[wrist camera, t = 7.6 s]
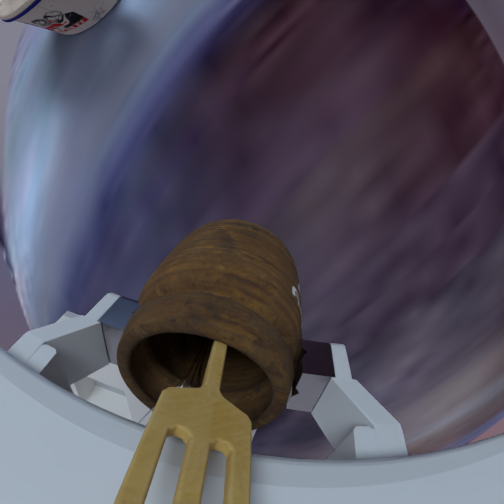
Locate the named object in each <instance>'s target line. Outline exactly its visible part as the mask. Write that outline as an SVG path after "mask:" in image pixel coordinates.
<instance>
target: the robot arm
mask: <svg viewBox="0 0 504 504" xmlns="http://www.w3.org/2000/svg"><path fill="white" fill-rule="evenodd" d="M139 307H140V305H139V303H138V301H136V300H133V299H130V298H126V297H123V296H120V295H117V294H114V293H108V294H107V295H105V296H104V297H103V298H102V299H101V300H100V301H99V302H98V303H97V304H96V305H95V306H94V307H93V308H92V309H91V311H90V312H89V313H88V314H87V315H86V316H83V315H80V316H77V317H74V318H70V319H67V320H64V321H61V322H57V323H54V324H51V325H48V326H44V327H41V328H38V329H34V330H31V331H28V332H26V333H25V334H24V335H23V336H22V337H21V338H20V339H19V340H18V341H17V342H16V343H15V344H14V345H13V346H12V347H11V348H10V349H9V350H8V351H7V352H6V351H5V350H4V349H2V348H1V347H0V504H114V501H115V499H116V496H117V494H118V491H119V489H120V487H121V484H122V482H123V479H124V477H125V475H126V472H127V470H128V467H129V465H130V463H131V460H132V458H133V456H134V453H135V451H136V449H137V446H138V444H139V442H140V440H141V437H142V435H143V433H144V430H145V428H146V426H145V425H142V424H140V423H137V422H134V421H132V420H129V419H127V418H124V417H122V416H119V415H117V414H115V413H112V412H110V411H108V410H105V409H103V408H101V407H99V406H97V405H95V404H93V403H90V402H88V401H86V400H84V399H82V398H80V397H78V396H77V395H75V394H74V392H73V390H72V388H71V386H70V385H72V384H73V383H75V382H77V381H79V380H81V379H83V378H85V377H86V376H88V375H90V374H92V373H94V372H96V371H97V370H99V369H101V368H103V367H105V366H106V365H108V364H109V363H112V364H115V365H117V366H118V364H117V348H118V344H119V341H120V338H121V336H122V333H123V331H124V328H125V326H126V324H127V322H128V320H129V319H130V317H131V316H132V315H133V313H134V312H135V311H136V310H137V309H138V308H139ZM293 365H294V378H293V383H292V388H291V392H290V395H289V399H288V402H287V407H286V409H293V410H300V411H307V412H311V414H312V415H313V417H314V419H315V420H316V422H317V423H318V425H319V427H320V428H321V430H322V431H323V433H324V434H325V436H326V438H327V439H328V441H329V442H330V444H331V445H332V447H333V448H334V450H335V451H334V452H333V453H332V454H331V455H330V456H329V457H328V458H327V459H326V460H318V459H300V458H288V457H278V456H270V455H262V454H256V453H251V492H250V504H504V433H502V434H499V435H496V436H493V437H490V438H487V439H483V440H480V441H477V442H473V443H470V444H466V445H462V446H458V447H454V448H449V449H444V450H439V451H434V452H429V453H423V454H416V455H409V456H408V454H407V449H406V445H405V441H404V436H403V432H402V428H401V424H400V423H399V422H398V421H397V420H396V419H395V418H394V417H393V416H392V415H391V414H390V413H389V412H388V411H387V410H386V409H385V408H384V407H383V406H382V405H381V404H380V403H379V402H378V401H377V400H376V399H375V398H374V397H373V396H372V395H371V394H370V393H369V392H368V391H367V390H366V389H365V388H364V387H363V386H362V385H361V384H360V383H359V382H358V381H357V380H353V379H352V377H351V372H350V367H349V362H348V357H347V353H346V348H345V346H344V345H343V344H335V343H324V342H317V341H311V340H304V339H300V340H299V344H298V348H297V352H296V359H295V361H294V362H293ZM185 448H186V444H185V443H184V441H183V440H182V439H181V438H178V437H176V436H169V437H167V438H166V441H165V443H164V446H163V449H162V452H161V455H160V458H159V461H158V464H157V467H156V470H155V473H154V476H153V479H152V482H151V485H150V488H149V491H148V494H147V497H146V500H145V503H144V504H172V502H173V498H174V494H175V490H176V485H177V481H178V477H179V473H180V469H181V465H182V461H183V456H184V452H185ZM225 471H226V457H225V456H224V455H223V453H222V452H220V451H217V450H213V449H212V450H210V452H209V458H208V464H207V470H206V476H205V482H204V488H203V494H202V500H201V504H223V497H224V484H225Z"/></svg>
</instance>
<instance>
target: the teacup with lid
mask: <svg viewBox="0 0 504 504" xmlns="http://www.w3.org/2000/svg"><path fill="white" fill-rule="evenodd" d="M117 1H118V0H0V18H1V19H2V20H3V21H5V22H12V21H18V22H22V23H26V24H30V25H34V26H37V27H41V28H45V29H48V30H51V31H55V32H58V33H61V34H64V35H73V34H77V33H80V32H82V31H85V30H86V29H88V28H90V27H92V26H93V25H94V24H96V23H97V22H98V21H100V20H101V19H102V18H103V17H104V16H105V15H106V14H107V13H108V12H109V11H110V10H111V9H112V8H113V6H114V5H115V4H116V2H117Z"/></svg>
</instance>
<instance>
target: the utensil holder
mask: <svg viewBox="0 0 504 504" xmlns="http://www.w3.org/2000/svg"><path fill="white" fill-rule="evenodd" d="M138 303H139V305H140V307H139V308H138V309H137V310H136V311H135V312H134V313H133V315H132V316H131V317H130V319H129V320H128V322H127V324H126V326H125V328H124V331H123V333H122V336H121V338H120V341H119V344H118V348H117V364H118V368H119V372H120V374H121V376H122V378H123V380H124V382H125V384H126V385H127V387H128V388H129V389H130V391H131V392H132V393H133V394H134V395H135V396H136V398H137V399H139V400H140V401H141V402H142V403H143V404H144V405H145V406H147V407H148V408H149V409H150V411H149V412H148V413H147V414H146V415H145V416H144V417H143V418H142V419H141V420H140V421H139V422H138V423H140V422H141V421H142V420H143V419H144V418H145V417H146V416H147V415H148V414H149V413H150V412H151V411H153V412H152V415H151V417H150V419H149V421H148V423H147V424H146V428H145V430H144V433H143V435H142V437H141V440H140V442H139V444H138V446H137V449H136V451H135V453H134V456H133V458H132V460H131V463H130V465H129V467H128V470H127V472H126V475H125V477H124V479H123V482H122V484H121V487H120V489H119V491H118V494H117V496H116V499H115V501H114V504H144V503H145V500H146V497H147V494H148V491H149V488H150V485H151V482H152V479H153V476H154V473H155V470H156V467H157V464H158V461H159V458H160V455H161V452H162V449H163V446H164V443H165V441H166V438H167V437H169V436H176V437H178V438H181V439H182V440H183V441H184V443H185V444H186V448H185V452H184V456H183V461H182V465H181V469H180V473H179V477H178V481H177V485H176V490H175V494H174V498H173V502H172V504H201V500H202V494H203V488H204V482H205V476H206V470H207V464H208V458H209V452H210V450H212V449H213V450H217V451H220V452H222V453H223V455H224V456H225V457H226V471H225V484H224V497H223V504H250V492H251V444H252V430H255V429H258V428H261V427H263V426H265V425H267V424H269V423H270V422H272V421H273V420H274V419H276V418H277V417H278V416H279V415H280V414H281V412H282V411H283V410H284V408H285V406H286V404H287V402H288V399H289V395H290V392H291V388H292V383H293V378H294V365H293V362H294V361H295V359H296V352H297V348H298V344H299V340H300V339H301V338H302V308H301V296H300V286H299V279H298V274H297V270H296V266H295V263H294V261H293V258H292V256H291V254H290V253H289V251H288V249H287V248H286V246H285V245H284V244H283V243H282V242H281V241H280V240H279V239H278V238H277V237H276V236H275V235H274V234H273V233H271V232H270V231H268V230H267V229H265V228H263V227H261V226H259V225H257V224H254V223H251V222H248V221H244V220H236V219H226V220H219V221H214V222H210V223H208V224H205V225H203V226H201V227H199V228H198V229H196V230H194V231H193V232H191V233H190V234H189V235H188V236H186V237H185V238H184V239H183V240H182V241H181V242H180V243H179V244H178V245H177V246H176V247H175V248H174V249H173V250H172V251H171V253H170V254H169V255H168V256H167V257H166V258H165V259H164V260H163V262H162V263H161V264H160V265H159V266H158V267H157V269H156V270H155V271H154V273H153V274H152V275H151V277H150V278H149V279H148V281H147V283H146V284H145V286H144V288H143V290H142V292H141V294H140V297H139V299H138Z"/></svg>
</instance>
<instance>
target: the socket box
mask: <svg viewBox="0 0 504 504" xmlns="http://www.w3.org/2000/svg"><path fill="white" fill-rule="evenodd" d="M77 316H80V315H78V314H75V313H72V312H70V311H67V312H66V313H65V314H64V315H63V316H62V317H61V318H60V319H59V320H58V321H57V322H61V321H64V320H67V319H70V318H74V317H77ZM57 322H56V323H57ZM70 386H71V388H72V390H73V392H74V394H75V395H77V396H78V397H80V398H82V399H84V400H86V401H88V402H90V403H93V404H95V405H97V406H99V407H101V408H103V409H105V410H108V411H110V412H112V413H115V414H117V415H119V416H122V417H124V418H127V419H129V420H132V421H134V422H137V423H138V422H139V421H140V420H141V419H142V418H143V417H144V416H145V415H146V414H147V413H148V412H149V411H150V409H149V408H148V407H147V406H145V405H144V404H143V403H142V402H141V401H140V400H139V399H137V398H136V396H135V395H134V394H133V393H132V392H131V391H130V389H129V388H128V387H127V385H126V384H125V382H124V380H123V378H122V376H121V374H120V372H119V368H118V366H117V365H115V364H112V363H109V364H108V365H106V366H105V367H103V368H101V369H99V370H97V371H96V372H94V373H92V374H90V375H88V376H86V377H85V378H83V379H81V380H79V381H77V382H75V383H73V384H72V385H70ZM152 412H153V411H151V412H150V413H149V414H148V415H147V416H146V417H145V418H144V419H143V420H142V421H141V422H140V424H142V425H145V426H146V424H147V423H148V421H149V419H150V417H151V415H152ZM256 430H257V429H255V430H252V440H253V437H254V435H255V432H256Z"/></svg>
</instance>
